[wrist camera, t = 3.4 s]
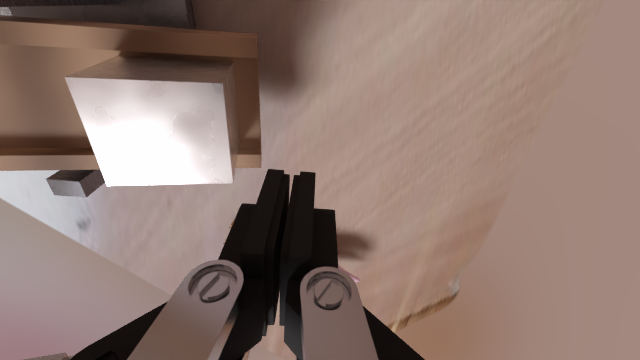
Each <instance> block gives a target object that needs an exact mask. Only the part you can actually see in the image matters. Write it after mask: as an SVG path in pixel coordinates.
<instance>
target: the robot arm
mask: <svg viewBox="0 0 640 360" xmlns="http://www.w3.org/2000/svg"><path fill="white" fill-rule="evenodd" d="M289 184H290V175H288V174H284V170H274V169H268V171H267V174H266V177H265V180H264V183H263V186H262V189H261V192H260V195H259V197H258V200H257V203H256V204H244V203H243V204H241V206H240V208H239V211H238V213H237V216H236V218H235V220H234V223H233V225H232V228H231V230H230V232H229V235H228V237H227V240H226V242H225V244H224V247H223V249H222V252H221V254H220V256H219V259H218V260H213V261H208V262H205V263H203V264H200V265H199V266H197V267H196V268H194V269H193V270H191V271H190V272H189V274H188V275H187V276H186V277H185V278H184V280H183V281H182V282H181V284H180V285H179V287H178V288H177V290H176V291H175V292H174V294H173V295H172V297H171V298H170V300H169V301H168V302H166V303H164V304H162V305H161V306H159V307H157V308H155V309H153V310H152V311H150V312H148V313H146V314H144V315H143V316H141V317H139V318H137V319H136V320H134V321H132V322H130V323H128V324H127V325H125V326H123V327H121V328H120V329H118V330H116V331H114V332H112V333H111V334H109V335H107V336H105V337H103V338H102V339H100V340H98V341H96V342H95V343H93V344H91V345H89V346H88V347H86V348H85V349H83V350H82V351H80V352H79V353H77V354H76V355H74V356H69V357H68V355H67V354H66V353H61V354H54V355H48V356H42V357H36V358H31V359H25V360H248V357H249V352H250V349H251V348H252V347H254V346H255V345H256V344H257V343H259V342H260V341H261V339H262V336H266V332H267V326H268V325H274V323H275V317H276V311H277V304H278V298H279V291H280V325H281V326H285V328H284V342H285V343H286V344H287V346H288V347H289V348H290V349H291V351H292V352H293V353H294V354H295V355H296V357H295V360H424V359H423V358H422V357H421V356H420V355H419V354H418V353H417V352H415V351H414V350H413V349H412V348H411V347H410V346H409V345H407V344H406V343H405V342H404V341H403V340H402V339H400V338H399V337H398V336H397V335H396V334H395V333H394V332H392V331H391V330H390V329H389V328H388V327H387V326H386V325H384V324H383V323H382V322H381V321H380V320H379V319H377V318H376V317H375V316H374V315H373V314H372V313H371V312H369V311H368V310H367V309H366V308H365V307H364V306H363V305H362V302H361V299H360V295H359V292H358V288H357V286H356V284H355V282H354V280H353V279H352V278H351V277H350V276H349V275H348V274H347V273H345V272H344V271H342V270H340V269H338V256H337V239H336V221H335V210H329V209H314V194H315V173H314V172H300V175H294V179H293V184H292V190H291V196H290V202H289Z"/></svg>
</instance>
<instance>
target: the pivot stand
mask: <svg viewBox="0 0 640 360" xmlns="http://www.w3.org/2000/svg"><path fill="white" fill-rule="evenodd" d="M0 7H9V9H10V11H11V13H12V15H13V16H18V17H32V18H45V19H59V20H73V21H87V22H101V23H115V24H129V25H143V26H157V27H171V28H185V29H195V24H194V17H193V10H192V3H191V0H0ZM46 180H47V182H48V184H49V186H50V188H51V189H52V191H53V193H54V195H61V196H74V197H88V196H89V195H90V194H91V193H92V192H94V191H95V190H96V189H97V188H99V187H100V186H101V185H102V184H104V183H105V182H106V181H105V179H104V176H103V174H102V171H101V169H99V170H60V171H58V172H57V173H55V174H53V175H52V176H50V177H49V178H47V179H46Z"/></svg>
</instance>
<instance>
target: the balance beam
mask: <svg viewBox="0 0 640 360" xmlns="http://www.w3.org/2000/svg"><path fill="white" fill-rule="evenodd" d="M118 55H127V56H145V57H164V58H182V59H201V60H220V61H233V64H234V76H235V89H236V101H237V114H238V126H239V139H240V144H239V150H238V156H237V162H236V168H261V128H260V99H259V71H258V42H257V34H254V33H240V32H226V31H212V30H198V29H185V28H171V27H157V26H143V25H129V24H115V23H101V22H87V21H73V20H59V19H45V18H32V17H18V16H4V15H0V171H15V170H99V169H100V166H99V164H98V161H97V159H96V156H95V153H94V151H93V148H92V146H91V143H90V141H89V138H88V136H87V133H86V131H85V128H84V125H83V123H82V120H81V118H80V115H79V113H78V110H77V108H76V105H75V103H74V100H73V98H72V95H71V92H70V90H69V87H68V85H67V82H66V80H65V77H66V76H69V75H71V74H74V73H76V72H78V71H81V70H83V69H86V68H88V67H91V66H93V65H96V64H98V63H100V62H103V61H105V60H108V59H110V58H113V57H115V56H118Z"/></svg>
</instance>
